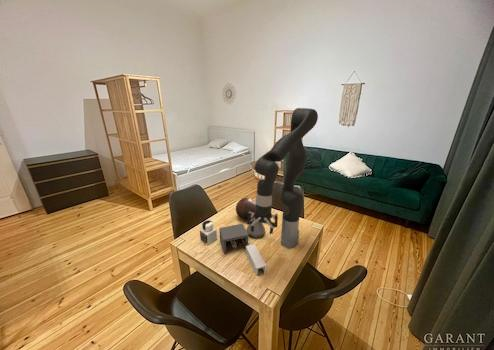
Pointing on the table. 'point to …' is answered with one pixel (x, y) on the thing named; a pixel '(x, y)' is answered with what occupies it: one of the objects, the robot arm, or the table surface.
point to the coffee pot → (256, 228)
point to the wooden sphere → (245, 207)
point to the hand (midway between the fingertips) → (261, 232)
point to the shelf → (233, 235)
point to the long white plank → (255, 258)
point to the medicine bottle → (208, 232)
